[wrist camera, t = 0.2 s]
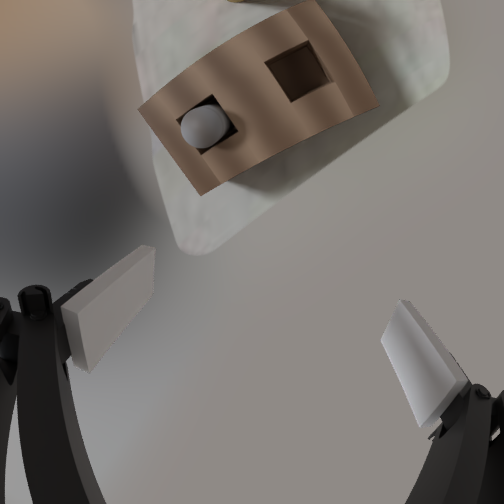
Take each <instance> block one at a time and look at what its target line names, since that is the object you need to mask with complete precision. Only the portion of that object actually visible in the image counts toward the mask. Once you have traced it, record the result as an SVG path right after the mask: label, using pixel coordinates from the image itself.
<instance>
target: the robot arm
mask: <svg viewBox="0 0 504 504" xmlns="http://www.w3.org/2000/svg"><path fill="white" fill-rule="evenodd" d="M155 249H156V248H153V247H149V246H145V245H141V246H140V247H139V248H137V249H136V250H134V251H133V252H132V253H130V254H129V255H127V256H126V257H125V258H123V259H122V260H120V261H119V262H118V263H116V264H115V265H114V266H112V267H111V268H109V269H108V270H107V271H105V272H104V273H103V274H101V275H100V276H99V277H97V278H96V279H95V280H92V279H88V280H86V281H83V282H80V283H79V284H78V285H76V286H75V287H74V288H73V289H71V290H70V291H68V292H67V293H66V294H64V295H63V296H62V297H60V298H59V299H58V300H57V301H55V302H54V303H53V304H52V299H51V293H50V290H49V289H48V288H47V287H45V286H42V285H31V286H28V287H25V288H23V289H22V290H21V291H20V292H19V294H18V300H19V304H20V309H21V313H20V312H16V311H12V309H11V305H10V301H9V300H8V299H6V298H3V297H0V504H5V467H6V455H7V446H8V438H9V431H10V425H11V420H12V414H13V410H14V405H15V400H16V396H17V409H18V425H19V435H20V443H21V450H22V457H23V463H24V468H25V473H26V478H27V482H28V486H29V490H30V494H31V497H32V501H33V504H106V502H105V500H104V498H103V495H102V493H101V491H100V488H99V486H98V483H97V481H96V478H95V476H94V473H93V470H92V467H91V464H90V461H89V459H88V455H87V452H86V449H85V446H84V442H83V439H82V435H81V431H80V428H79V424H78V420H77V416H76V411H75V407H74V402H73V397H72V392H71V386H70V380H69V374H68V367H67V364H66V360H67V359H68V358H69V357H70V356H71V357H72V360H73V364H74V366H75V367H77V368H79V369H81V370H83V371H85V372H87V373H91V371H92V370H93V369H94V367H95V366H96V365H97V363H98V362H99V361H100V360H101V358H102V357H103V356H104V354H105V353H106V352H107V351H108V349H109V348H110V347H111V345H112V344H113V343H114V342H115V341H116V339H117V338H118V337H119V335H120V334H121V333H122V332H123V330H124V329H125V328H126V327H127V325H128V324H129V323H130V322H131V321H132V319H133V318H134V317H135V316H136V315H137V313H138V312H139V311H140V310H141V309H142V307H143V306H144V305H145V304H146V303H147V301H148V300H149V299H150V298H151V297H152V295H153V282H154V280H153V279H154V262H155ZM380 341H381V343H382V345H383V347H384V349H385V351H386V353H387V355H388V357H389V359H390V361H391V363H392V366H393V368H394V370H395V372H396V374H397V376H398V379H399V381H400V383H401V385H402V388H403V389H404V392H405V394H406V397H407V399H408V401H409V404H410V406H411V409H412V411H413V413H414V416H415V418H416V421H417V423H418V426H419V428H421V427H430V426H432V425H433V424H434V423H435V422H436V421H437V420H438V418H439V417H440V418H441V419H442V423H441V424H440V425H439V426H438V428H437V429H436V430H435V431H434V432H433V433H432V434H431V435H430V436H429V438H428V439H429V440H430V438H432V437H433V436H435V437H434V439H433V440H432V441H433V443H432V445H431V448H430V451H429V454H428V456H427V458H426V461H425V463H424V465H423V468H422V470H421V472H420V475H419V477H418V479H417V481H416V483H415V485H414V487H413V489H412V491H411V493H410V495H409V497H408V499H407V501H406V503H405V504H504V390H503V391H502V392H501V393H500V395H499V396H498V397H497V398H493V397H491V394H490V392H489V391H488V390H487V389H486V388H485V387H484V386H482V385H480V384H474V385H472V384H471V382H470V380H469V379H468V377H467V376H466V374H465V373H464V372H463V370H462V369H461V368H460V366H459V364H458V363H457V362H456V360H455V359H454V357H453V356H452V354H450V353H449V351H448V350H447V349H446V347H445V346H444V345H443V343H442V342H441V340H440V339H439V338H438V336H437V335H436V334H435V332H434V331H433V330H432V329H431V327H430V326H429V325H428V323H427V322H426V321H425V319H424V318H423V317H422V316H421V315H420V313H419V312H418V311H417V309H416V308H415V307H414V306H413V304H412V303H411V302H410V301H405V300H400V299H399V301H398V303H397V306H396V308H395V310H394V313H393V315H392V317H391V319H390V321H389V323H388V325H387V328H386V330H385V332H384V334H383V336H382V338H381V340H380ZM499 428H500V434H499V435H498V436H497V437H496V438H495V439H494V440H493V441H492V435H493V434H494V433H495V432H496V431H497V430H498V429H499Z"/></svg>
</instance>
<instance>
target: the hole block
mask: <svg viewBox="0 0 504 504" xmlns="http://www.w3.org/2000/svg"><path fill="white" fill-rule="evenodd" d="M378 106H380V105H379V103H378V101H377V99H376V97H375V95H374V93H373V91H372V89H371V87H370V85H369V83H368V81H367V79H366V78H365V76H364V74H363V72H362V70H361V69H360V67H359V65H358V63H357V62H356V60H355V58H354V56H353V55H352V53H351V51H350V50H349V48H348V47H347V45H346V43H345V42H344V40H343V39H342V37H341V36H340V34H339V33H338V31H337V30H336V28H335V27H334V25H333V24H332V22H331V21H330V20H329V18H328V17H327V15H326V14H325V13H324V11H323V10H322V9H321V7H320V6H319V5H318V4H317V2H316V1H315V0H307V1H304V2H302V3H299V4H297V5H295V6H292V7H290V8H288V9H286V10H284V11H281V12H279V13H277V14H275V15H273V16H271V17H269V18H267V19H265V20H263V21H261V22H259V23H258V24H256V25H254V26H252V27H250V28H248V29H247V30H245V31H243V32H241V33H240V34H238V35H236V36H235V37H233V38H231V39H230V40H228V41H226V42H225V43H223V44H222V45H220V46H219V47H217V48H215V49H214V50H212V51H211V52H209V53H208V54H206V55H205V56H204V57H202V58H201V59H199V60H198V61H196V62H195V63H194V64H192V65H191V66H190V67H188V68H187V69H185V70H184V71H183V72H182V73H180V74H179V75H178V76H176V77H175V78H174V79H172V80H171V81H170V82H169V83H168V84H166V85H165V86H164V87H163V88H161V89H160V90H159V91H158V92H157V93H155V94H154V95H153V96H152V97H151V98H150V99H149V100H147V101H146V102H145V103H144V104H143V105H142V106H141V107H140V108H139V109H138V111H139V112H140V113H141V115H142V116H143V117H144V119H145V120H146V122H147V123H148V125H149V126H150V127H151V129H152V130H153V131H154V133H155V134H156V136H157V137H158V138H159V140H160V141H161V143H162V144H163V145H164V147H165V148H166V149H167V151H168V152H169V154H170V155H171V156H172V158H173V159H174V160H175V162H176V163H177V165H178V166H179V167H180V169H181V170H182V171H183V173H184V174H185V176H186V177H187V178H188V180H189V181H190V182H191V184H192V185H193V187H194V188H195V189H196V191H197V192H198V193H199V195H200V196H202V195H204V194H205V193H207V192H209V191H210V190H212V189H214V188H215V187H217V186H219V185H221V184H222V183H224V182H226V181H227V180H229V179H231V178H233V177H235V176H236V175H238V174H240V173H242V172H243V171H245V170H247V169H249V168H251V167H253V166H254V165H256V164H258V163H260V162H262V161H264V160H266V159H267V158H269V157H271V156H273V155H275V154H277V153H279V152H281V151H283V150H285V149H287V148H289V147H291V146H293V145H295V144H297V143H299V142H301V141H303V140H305V139H307V138H309V137H311V136H313V135H315V134H317V133H319V132H322V131H324V130H326V129H328V128H330V127H332V126H334V125H337V124H339V123H341V122H343V121H346V120H348V119H350V118H352V117H355V116H357V115H359V114H362V113H364V112H366V111H369V110H371V109H373V108H376V107H378Z"/></svg>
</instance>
